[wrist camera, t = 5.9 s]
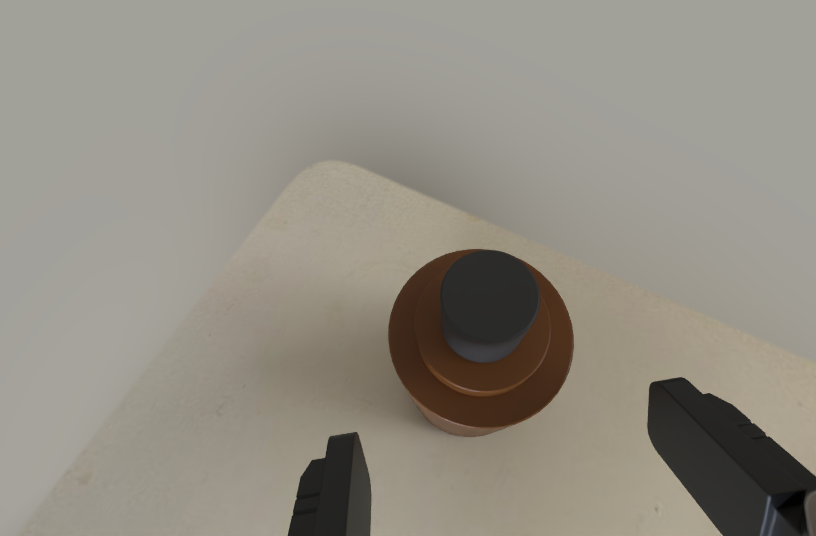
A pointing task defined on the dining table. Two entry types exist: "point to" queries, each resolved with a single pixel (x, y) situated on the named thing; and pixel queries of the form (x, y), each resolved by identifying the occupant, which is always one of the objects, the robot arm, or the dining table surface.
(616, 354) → the dining table surface
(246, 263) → the dining table surface
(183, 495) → the dining table surface
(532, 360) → the bottle
